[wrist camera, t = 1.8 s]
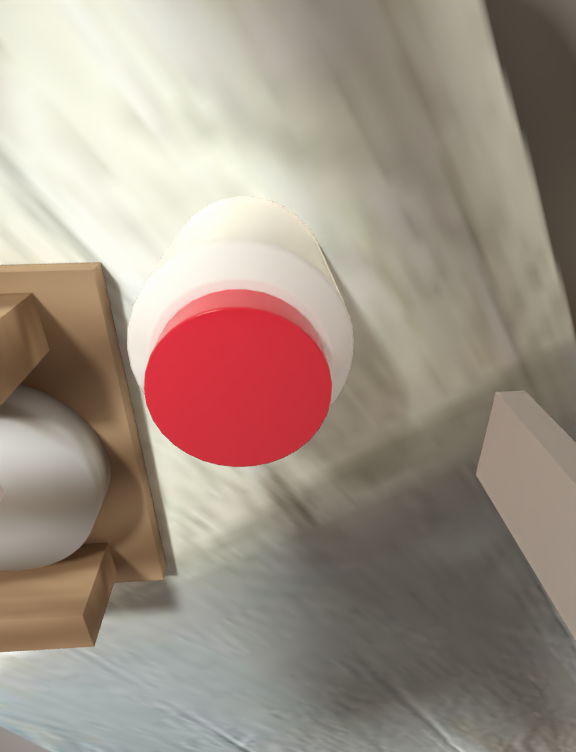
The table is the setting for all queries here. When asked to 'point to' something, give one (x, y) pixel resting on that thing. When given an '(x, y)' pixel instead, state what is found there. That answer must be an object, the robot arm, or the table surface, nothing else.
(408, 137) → the table surface
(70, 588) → the cardboard packaging tray
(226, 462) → the pill bottle
